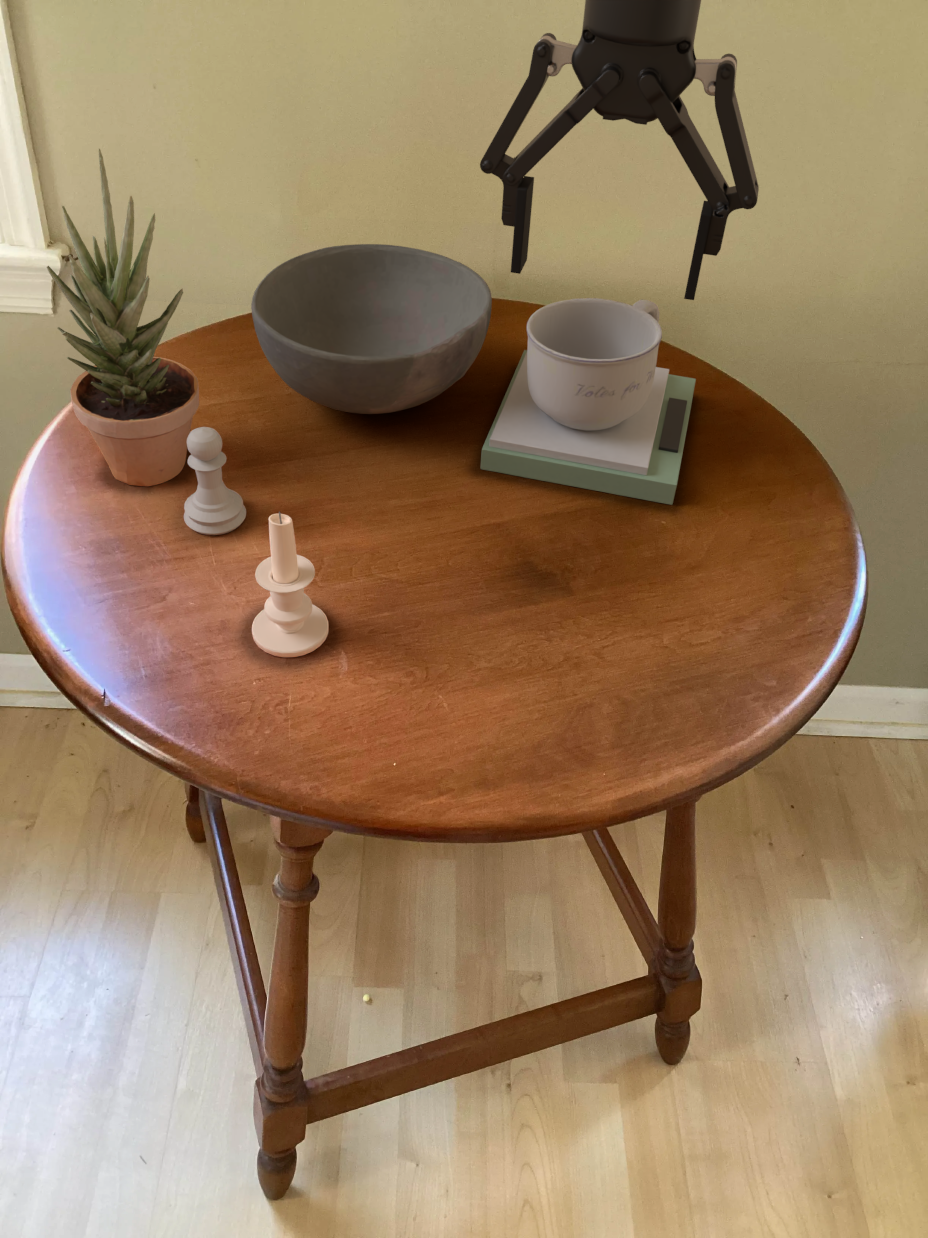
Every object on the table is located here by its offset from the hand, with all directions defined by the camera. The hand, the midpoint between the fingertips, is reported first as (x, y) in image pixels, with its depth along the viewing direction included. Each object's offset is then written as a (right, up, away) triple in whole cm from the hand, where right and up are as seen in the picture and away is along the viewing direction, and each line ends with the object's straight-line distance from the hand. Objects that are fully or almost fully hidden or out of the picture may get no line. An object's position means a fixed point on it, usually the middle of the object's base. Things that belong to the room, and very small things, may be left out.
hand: (603, 279), depth 82 cm
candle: (-23, -28, -10) cm, 37 cm away
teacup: (0, -8, +8) cm, 12 cm away
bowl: (-19, -6, +13) cm, 24 cm away
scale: (0, -10, +10) cm, 14 cm away
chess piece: (-30, -19, -1) cm, 36 cm away
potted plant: (-37, -14, +4) cm, 39 cm away
